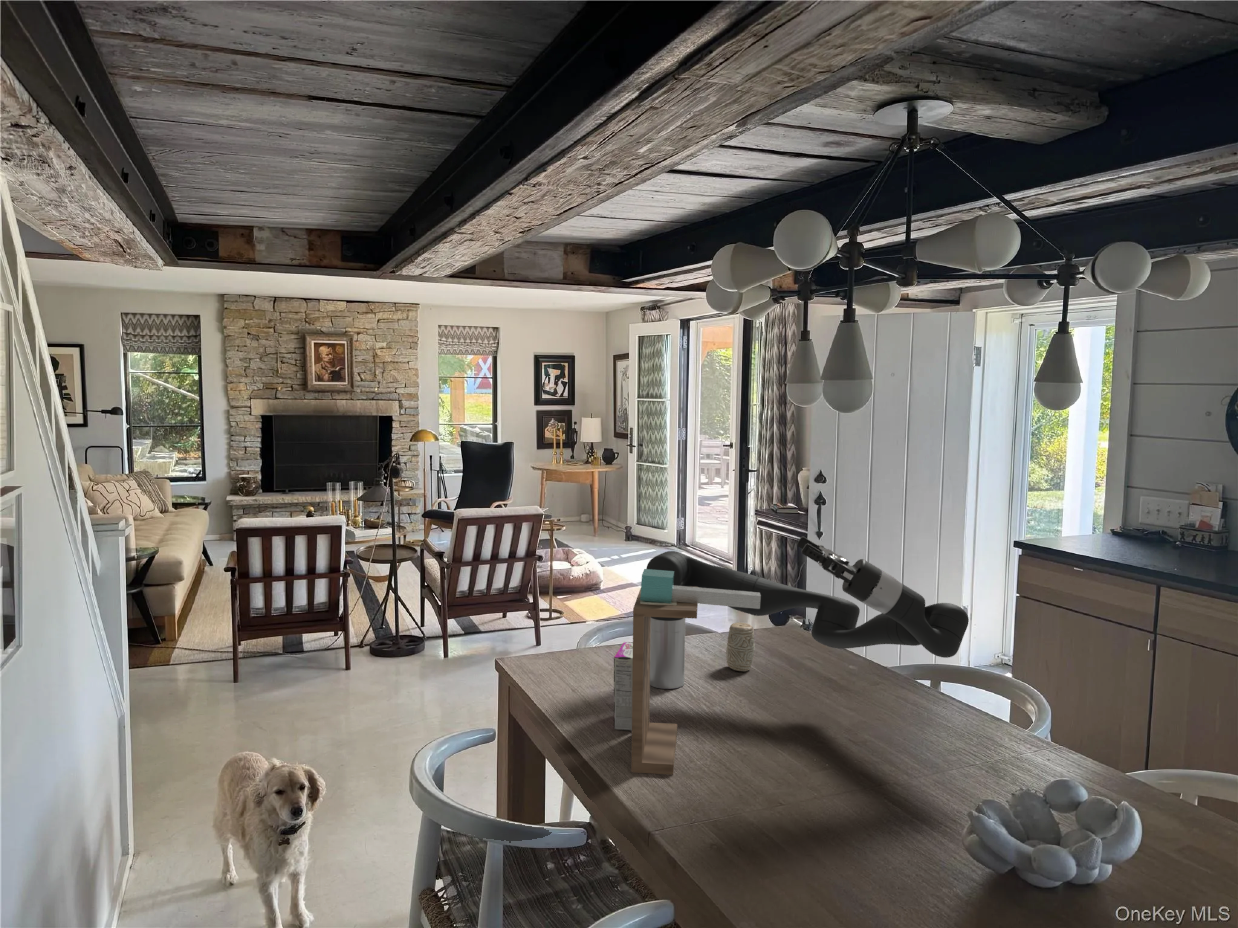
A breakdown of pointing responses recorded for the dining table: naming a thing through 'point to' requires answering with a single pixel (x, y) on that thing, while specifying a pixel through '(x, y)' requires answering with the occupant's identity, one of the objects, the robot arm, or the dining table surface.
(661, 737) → the bracket shelf
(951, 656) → the robot arm
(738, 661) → the carving
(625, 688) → the candy bar box
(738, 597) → the grey and teal bar
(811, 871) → the dining table surface
